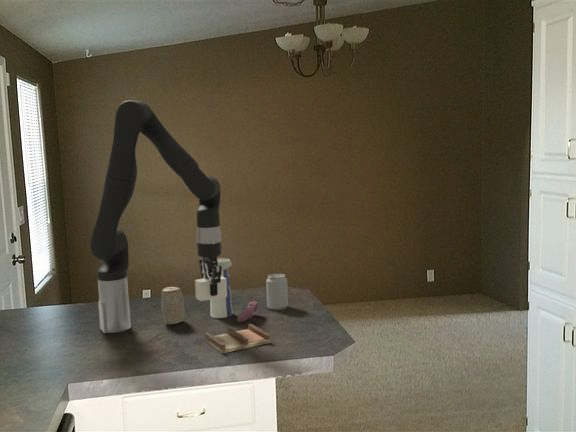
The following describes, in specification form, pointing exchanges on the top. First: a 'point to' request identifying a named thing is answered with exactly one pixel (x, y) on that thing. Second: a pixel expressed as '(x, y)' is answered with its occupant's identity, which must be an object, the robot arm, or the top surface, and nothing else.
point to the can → (277, 291)
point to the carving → (172, 305)
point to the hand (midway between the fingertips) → (211, 293)
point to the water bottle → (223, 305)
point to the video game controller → (248, 311)
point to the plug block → (204, 289)
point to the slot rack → (238, 339)
